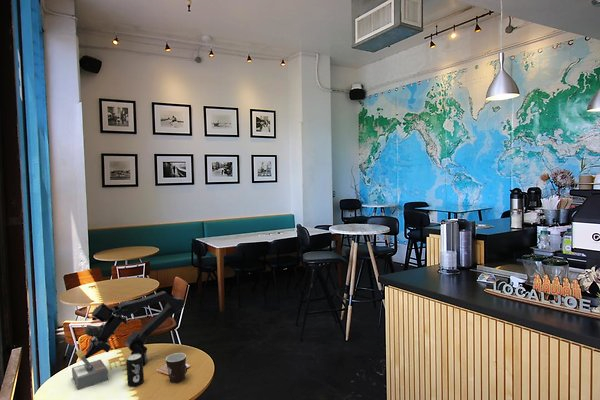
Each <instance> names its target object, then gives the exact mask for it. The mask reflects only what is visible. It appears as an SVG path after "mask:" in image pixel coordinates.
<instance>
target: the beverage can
mask: <svg viewBox="0 0 600 400" xmlns="http://www.w3.org/2000/svg"><path fill="white" fill-rule="evenodd" d="M125 363H126V366H125V367H126V377H127V385H128V386H130V387H138V386H141V385H142V384H143V383H144V381H145V376H144V375H145V374H144V366H143V359H142V357H141V354H133V355H131V354H130V355H128V356H127V357H126V361H125Z"/></svg>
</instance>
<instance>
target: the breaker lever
mask: <svg viewBox="0 0 600 400" xmlns="http://www.w3.org/2000/svg"><path fill="white" fill-rule="evenodd" d="M75 354H76V355H77V357H78V358H79V359H80V360H82V362H83V364H86V366H87V367H88V369H89V370H91V369H92V368H93V367H92V365H91V364H90V362H89V361H90V360H88V358H87V359H86V358H85V355H86V354H85V353H84V352H83V350H82V349H81V348H79V350H77V351H75Z"/></svg>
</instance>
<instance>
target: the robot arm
mask: <svg viewBox="0 0 600 400" xmlns="http://www.w3.org/2000/svg"><path fill="white" fill-rule="evenodd" d="M160 302H165V303H166V304H165V306H164V308H163V309H162V310H161V311H160V312H159V313H158V314H157V315H155V316H154V318H152V319H151V320H150V322H149V323H147V324H146V325H145V326H144V327H143V328H142V329H141V330H139V331H136V330H133V331H132V332H131V334H129V335H128V336H127V338H126V340H125V346H126V347H127V348H128V349H129V350H130V351H131V352H130V355H133V354H141V357H142V359H143V367H145V366H146V365H147V363H148V361H149V359H148V358H147V357H148V356H147V351H148V348H147V347H148V346H146V345H145V344H146V341H147V339H148V337H149V336H151V335H152V334H153V333H154V332H155V331H156V330H157V329H158V328H159V327H161V325H163V323H164V322H165V321H166V320H167V319H169V318H170V317H172V315H175V314H178V313H179V312H180V311H181V310H183V309H184V307H185V300H183V299H182V298H181V297H178V296H172V295H170V294H168V293H167V292H166V291H164V290H163V291H160V292H157V293H154V294H151V295H147V296H145V297H141V298H139V299H135V300H124V301H121V302H119V303H118V304H117V305H114V306H111V307H109V306H108V305H107V304H105V303H104V302H102V303H101V304H99V305H98V306H97V307H95V308H94V309H93V311H92V313H91V316H92V318H95V319H96V320H98V321H99V322H101V323H103V322H105V323H104V324H101V325H100V326H96V325H89V324H86V327H85V329H84V334H85V335H87V336H88V337H91V338H89V346H88V349H87V351H86V353H85V354H84V355H85V358H86V359H87V360H88V359H89V358H90V357H92V356H94V355H96V354H97V353H99V352H101V351H104V352H106V353H109V352H110V350H111V345H110V344H109V341H110V340H109V339H110V338H111V337H112V336H115V334H116V333H115V332H116V330H117V329H118V328H119V326H121V324H122V323H123V324H124V325H127V323H128V321H127V317H129V316H131V315H134V313H136V312H137V311H139V310H140V309H143V308H146V307H149V306H152V305H155V304H157V303H160Z"/></svg>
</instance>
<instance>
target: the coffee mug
mask: <svg viewBox="0 0 600 400" xmlns="http://www.w3.org/2000/svg"><path fill="white" fill-rule="evenodd" d="M186 361H187V355H186V353H183V352H176V353H171V354H169V355H167V356H166V357H165V364H166V368H167V374H168V378H169V382H170V383H172V384H178V383H181V382H183V381H184V380H185V378H186V374H187V372H188V367H187V364H186V363H187V362H186Z"/></svg>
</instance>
